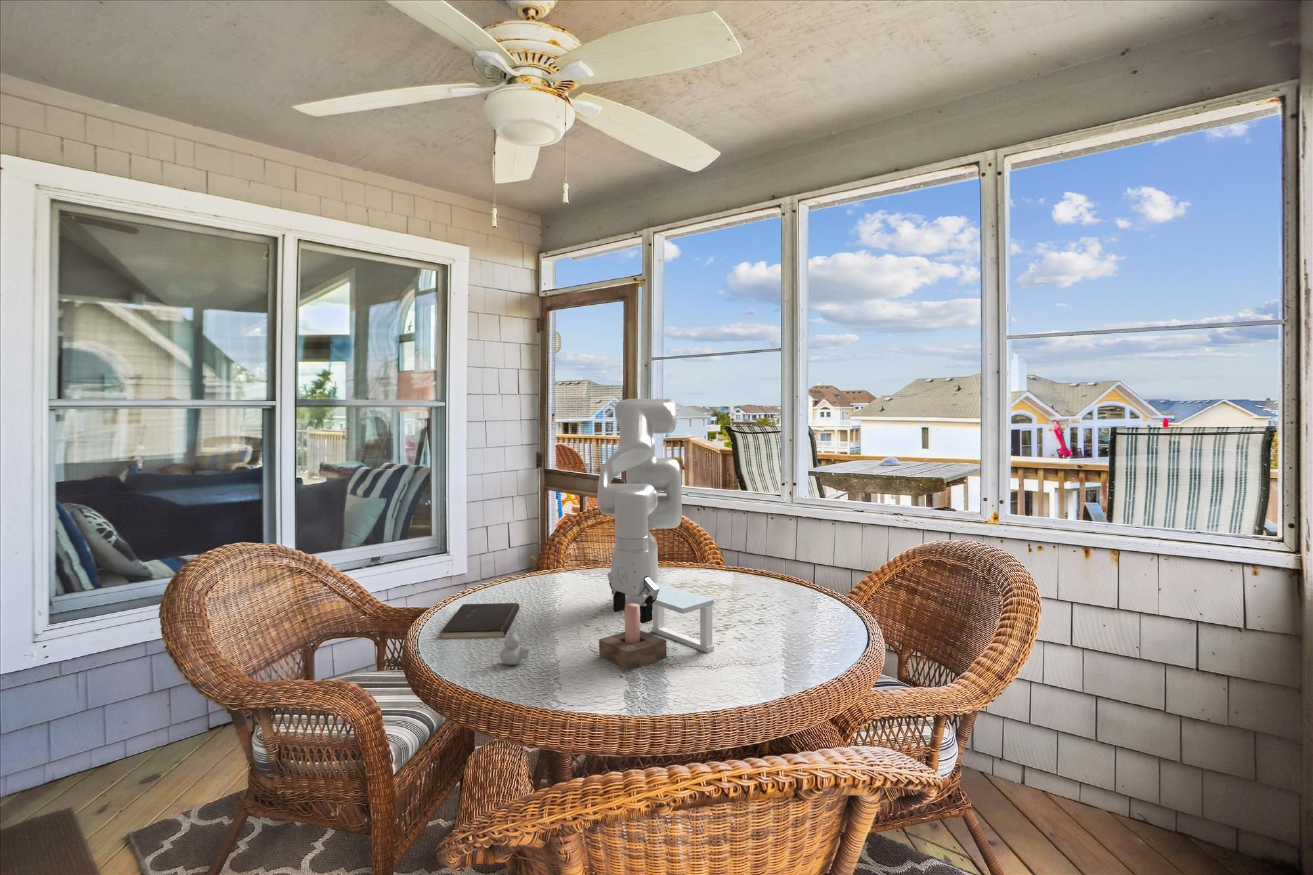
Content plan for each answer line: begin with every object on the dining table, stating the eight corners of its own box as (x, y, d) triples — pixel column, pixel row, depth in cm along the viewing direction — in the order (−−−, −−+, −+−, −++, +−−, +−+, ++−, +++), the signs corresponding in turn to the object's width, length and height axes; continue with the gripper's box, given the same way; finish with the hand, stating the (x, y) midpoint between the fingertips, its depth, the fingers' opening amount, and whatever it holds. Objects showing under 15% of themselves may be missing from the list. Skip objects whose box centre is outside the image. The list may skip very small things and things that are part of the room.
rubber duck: (503, 659, 151) (503, 624, 150) (532, 659, 150) (531, 624, 150) (497, 668, 145) (496, 632, 145) (526, 668, 145) (526, 633, 145)
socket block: (599, 656, 152) (599, 639, 151) (635, 644, 159) (635, 628, 159) (629, 670, 143) (629, 652, 143) (666, 657, 151) (666, 640, 150)
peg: (622, 656, 151) (621, 605, 151) (633, 653, 154) (633, 602, 153) (631, 661, 149) (631, 608, 148) (643, 657, 151) (642, 605, 150)
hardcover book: (440, 640, 164) (440, 631, 164) (463, 611, 187) (462, 603, 187) (504, 639, 165) (504, 630, 165) (519, 610, 188) (519, 602, 188)
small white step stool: (627, 638, 163) (627, 590, 162) (657, 629, 170) (657, 582, 169) (683, 661, 148) (682, 608, 147) (713, 650, 155) (713, 599, 154)
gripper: (596, 539, 154) (597, 610, 155) (643, 553, 141) (644, 630, 142) (621, 534, 159) (622, 603, 160) (669, 547, 146) (669, 622, 147)
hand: (632, 616), depth 151 cm, fingers open, 9 cm apart
